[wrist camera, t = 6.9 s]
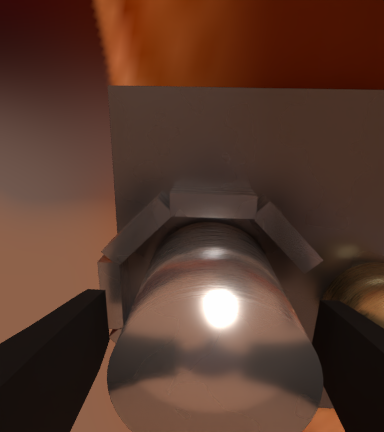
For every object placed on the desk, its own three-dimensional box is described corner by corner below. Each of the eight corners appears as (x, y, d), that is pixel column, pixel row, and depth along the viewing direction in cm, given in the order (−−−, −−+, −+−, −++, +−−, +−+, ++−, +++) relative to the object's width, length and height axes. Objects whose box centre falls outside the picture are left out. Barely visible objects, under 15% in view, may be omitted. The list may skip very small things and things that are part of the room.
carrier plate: (383, 392, 14) (442, 476, 10) (125, 378, 14) (101, 454, 11) (475, 96, 9) (624, 74, 6) (106, 90, 10) (56, 66, 7)
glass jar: (260, 334, 12) (300, 472, 7) (147, 323, 12) (108, 453, 7) (279, 227, 10) (347, 308, 5) (150, 216, 10) (104, 286, 5)
